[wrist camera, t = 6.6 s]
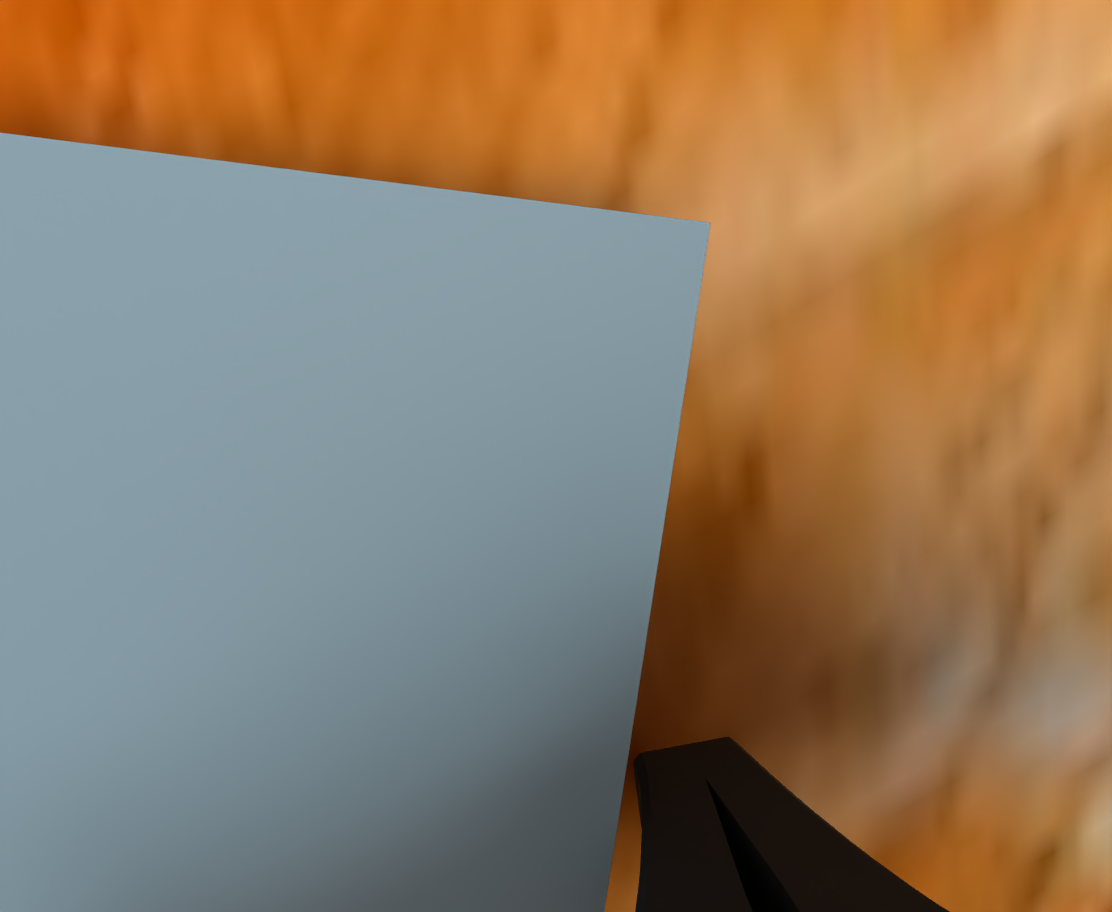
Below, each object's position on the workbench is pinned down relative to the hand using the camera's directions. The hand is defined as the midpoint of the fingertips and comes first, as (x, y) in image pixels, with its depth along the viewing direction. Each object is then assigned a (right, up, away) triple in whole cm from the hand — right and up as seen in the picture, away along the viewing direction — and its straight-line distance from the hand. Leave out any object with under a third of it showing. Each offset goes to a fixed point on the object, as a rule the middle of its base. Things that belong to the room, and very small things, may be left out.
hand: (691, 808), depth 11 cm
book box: (-5, +2, +1) cm, 6 cm away
